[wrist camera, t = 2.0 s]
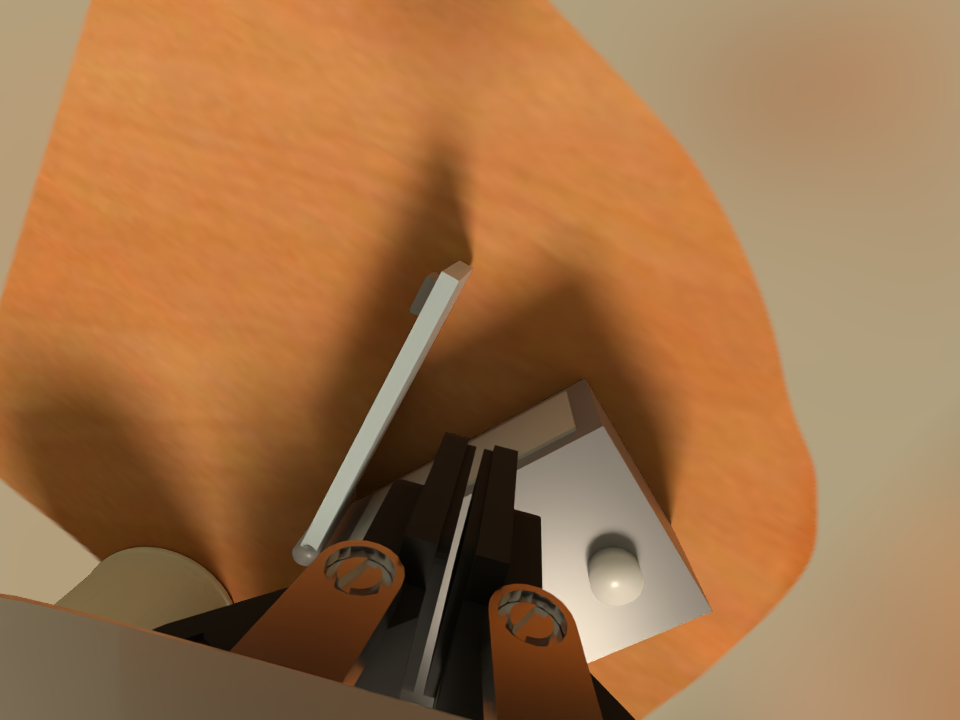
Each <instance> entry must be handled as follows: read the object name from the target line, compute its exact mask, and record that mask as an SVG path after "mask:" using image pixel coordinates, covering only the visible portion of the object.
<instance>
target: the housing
mask: <svg viewBox="0 0 960 720" xmlns="http://www.w3.org/2000/svg"><path fill="white" fill-rule="evenodd" d="M468 444H469V445H473V446H476V451H475V455H474V459H473V463H472V467H471V471H470V475H469V479H468V483H467V487H466V491H465V495H464V499H463V503H462V507H461V511H460V515H459V519H458V523H457V526H456V530H455V534H454V538H453V542H452V546H451V550H450V554H449V558H448V562H447V566H446V569H445V573H444V577H443V581H442V585H441V589H440V592H439V596H438V600H437V604H436V608H435V612H434V616H433V619H432V623H431V627H430V631H429V635H428V639H427V642H426V646H425V650H424V654H423V658H422V662H421V665H420V669H419V673H418V677H417V681H416V685H415V689H414V692H411V691H407V690H404V689H402V690H401V694H400V698H399V699H401V700H404V701H408V702H411V703H415V704H418V705H422V706H425V707H429V708H433V703H434V698H432V697H428V696H425V695H423V694H424V689H425V685H426V680H427V676H428V672H429V668H430V663H431V659H432V655H433V651H434V646H435V642H436V638H437V633H438V629H439V625H440V621H441V616H442V612H443V608H444V603H445V599H446V595H447V591H448V586H449V582H450V578H451V574H452V569H453V565H454V561H455V557H456V553H457V549H458V545H459V541H460V538H461V534H462V530H463V526H464V523H465V519H466V515H467V511H468V507H469V504H470V500H471V496H472V492H473V489H474V485H475V481H476V477H477V473H478V470H479V466H480V462H481V458H482V455H483V451H484V449H488V450H491V451H493V449H494V446H495V445H497V446H501V447H505V448H509V449H513V450H516V451H518V461H517V475H516V489H515V503H514V509H515V510H519V511H523V512H527V513H530V514H534V515H538V516H540V517H541V537H542V589H543V590H545V591H547V592H549V593H551V594H553V595H554V596H555V597H556V598H558V599H559V600H560V601H561V602H563V603H564V605H565V606H566V607H567V608H568V609H569V611H570V612H571V614H572V616H573V618H574V620H575V622H576V625H577V629H578V632H579V636H580V639H581V643H582V646H583V650H584V654H585V657H586V661H587V663H589V662H592V661H594V660H597V659H599V658H601V657H604V656H606V655H609V654H611V653H614V652H616V651H618V650H621V649H623V648H626V647H628V646H630V645H633V644H635V643H638V642H640V641H643V640H645V639H647V638H650V637H652V636H655V635H657V634H659V633H662V632H664V631H667V630H669V629H672V628H674V627H676V626H679V625H681V624H684V623H686V622H688V621H691V620H693V619H696V618H698V617H700V616H703V615H705V614H708V613H710V612H713V611H712V609H711V607H710V605H709V603H708V601H707V599H706V597H705V595H704V592H703V590H702V588H701V586H700V584H699V582H698V580H697V578H696V576H695V574H694V572H693V570H692V568H691V566H690V563H689V561H688V559H687V557H686V555H685V553H684V551H683V549H682V547H681V545H680V543H679V541H678V539H677V536H676V534H675V532H674V530H673V528H672V526H671V524H670V523H669V521H668V519H667V517H666V516H665V514H664V512H663V511H662V509H661V507H660V506H659V504H658V502H657V500H656V499H655V497H654V495H653V494H652V492H651V490H650V488H649V487H648V485H647V483H646V482H645V480H644V478H643V476H642V475H641V473H640V471H639V470H638V468H637V466H636V464H635V463H634V461H633V459H632V458H631V456H630V454H629V453H628V451H627V449H626V447H625V446H624V444H623V442H622V441H621V439H620V437H619V435H618V434H617V432H616V430H615V429H614V427H613V425H612V423H611V422H610V420H609V418H608V417H607V415H606V413H605V411H604V410H603V408H602V406H601V405H600V403H599V401H598V400H597V398H596V396H595V394H594V393H593V391H592V389H591V388H590V386H589V384H588V382H587V381H586V379H585V378H584V379H582V380H581V381H579V382H577V383H575V384H573V385H571V386H569V387H568V388H566V389H564V390H562V391H560V392H558V393H556V394H555V395H553V396H551V397H549V398H547V399H545V400H543V401H542V402H540V403H538V404H536V405H534V406H532V407H530V408H529V409H527V410H525V411H523V412H521V413H519V414H517V415H516V416H514V417H512V418H510V419H508V420H506V421H504V422H503V423H501V424H499V425H497V426H495V427H493V428H491V429H490V430H488V431H486V432H484V433H482V434H480V435H478V436H477V437H475V438H473V439H471V440H469V441H468ZM434 460H435V459H434ZM434 460H432V461H430V462H428V463H426V464H425V465H423V466H421V467H419V468H417V469H415V470H413V471H412V472H410V473H408V474H406V475H404V476H402V477H400V479H404V480H407V481H411V482H415V483H418V484H422V485H424V484H425V482H426V480H427V477H428V475H429V472H430V470H431V467H432V465H433V463H434ZM393 482H394V481H393ZM393 482H391V483H389V484H387V485H386V486H384V487H382V488H380V489H378V490H376V491H374V492H373V493H371V494H369V495H367V496H365V497H363V498H362V499H360V500H358V501H356V502H354V503H352V504H351V505H350V507H349V509H348V510H347V512H346V513H345V515H344V517H343V518H342V520H341V522H340V523H339V525H338V527H337V528H336V530H335V531H334V533H333V535H332V536H331V538H330V540H329V541H328V543H327V544H326V546H325V548H324V549H323V551H324V550H325V549H327V548H328V547H329V546H332V545H334V544H337V543H339V542H343V541H350V540H363V538H364V536H365V534H366V532H367V531H368V529H369V527H370V525H371V523H372V521H373V519H374V517H375V516H376V514H377V512H378V510H379V508H380V506H381V504H382V502H383V501H384V499H385V497H386V495H387V493H388V491H389V489H390V487H391V485H392V484H393ZM323 551H322V552H323Z"/></svg>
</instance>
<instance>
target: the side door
mask: <svg viewBox="0 0 960 720" xmlns="http://www.w3.org/2000/svg"><path fill="white" fill-rule="evenodd" d="M472 270H473V268H472V267H471V266H469V265H467V264H465V263H463V262H462V261H458V262H456V263H455V264H453V265H451V266H450V267H448V268H446V269H445V270H443V271H442V272H441V274H438V273H436V272H435V271H434V272H432V273H430V274H429V275H427V276H426V278H425V280H424V282H423V284H422V286H421V288H420V290H419V291H418V293H417V295H416V297H415V299H414V301H413V303H412V305H411V307H410V309H409V312H410V313H412V314H414V315H416V316H418V318H417V320H416V322H415V324H414V326H413V328H412V330H411V332H410V334H409V336H408V338H407V340H406V341H405V343H404V345H403V347H402V349H401V351H400V353H399V355H398V357H397V359H396V361H395V363H394V365H393V367H392V369H391V371H390V372H389V374H388V376H387V378H386V380H385V382H384V384H383V386H382V388H381V390H380V392H379V394H378V396H377V398H376V400H375V402H374V403H373V405H372V407H371V409H370V411H369V413H368V415H367V417H366V419H365V421H364V423H363V425H362V427H361V429H360V431H359V433H358V434H357V436H356V438H355V440H354V442H353V444H352V446H351V448H350V450H349V452H348V454H347V456H346V458H345V460H344V462H343V464H342V465H341V467H340V469H339V471H338V473H337V475H336V477H335V479H334V481H333V483H332V485H331V487H330V489H329V491H328V493H327V495H326V496H325V498H324V500H323V502H322V504H321V506H320V508H319V510H318V512H317V514H316V516H315V518H314V520H313V521H312V523H311V524H310V525H309V527H308V528H307V530H306V531H305V533H304V534H303V535H302V537H301V538H300V540H299V541H298V542H297V544H296V545H295V547H294V548H293V550H292V556H293V559H294V560H295V561H296V562H297V563H298V564H300V565H302V566H309V565H310V564H311V563H312V562H313V561H314V560H315V559H316V558H317V556H318V555H319V554H320V553H321V552H322V551H323V549H324V548H325V546H326V544H327V543H328V541H329V540H330V538H331V536H332V535H333V533H334V531H335V530H336V528H337V527H338V525H339V523H340V522H341V520H342V518H343V517H344V515H345V513H346V512H347V510H348V509H349V507H350V505H351V504H352V502H353V500H354V499H355V497H356V494H357V492H356V487H357V485H358V483H359V481H360V480H361V478H362V476H363V474H364V472H365V470H366V468H367V466H368V465H369V463H370V461H371V459H372V457H373V455H374V453H375V451H376V450H377V448H378V446H379V444H380V442H381V440H382V438H383V436H384V435H385V433H386V431H387V429H388V427H389V425H390V423H391V421H392V420H393V418H394V416H395V414H396V412H397V410H398V408H399V406H400V405H401V403H402V401H403V399H404V397H405V395H406V393H407V391H408V390H409V388H410V386H411V384H412V382H413V380H414V378H415V376H416V375H417V373H418V371H419V369H420V367H421V365H422V363H423V361H424V360H425V358H426V356H427V354H428V352H429V350H430V348H431V346H432V345H433V343H434V341H435V339H436V337H437V335H438V333H439V331H440V330H441V328H442V326H443V324H444V322H445V320H446V318H447V316H448V315H449V313H450V311H451V309H452V307H453V305H454V303H455V301H456V300H457V298H458V296H459V294H460V292H461V290H462V288H463V286H464V285H465V283H466V281H467V279H468V277H469V275H470V273H471V271H472Z"/></svg>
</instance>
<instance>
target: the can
mask: <svg viewBox="0 0 960 720" xmlns="http://www.w3.org/2000/svg"><path fill="white" fill-rule="evenodd" d="M231 604H233V603H232V601H231V599H230V597H229V595H228V593H227V592H226V590H225V589H224V587H223V586H222V584H221V583H220V582H219V581H218V580H217V579H216V578H215V577H214V576H213V575H212V574H211V573H210V572H209V571H208V570H207V569H205V568H204V567H203V566H201V565H200V564H199V563H197V562H195V561H194V560H192V559H190V558H188V557H186V556H184V555H182V554H179V553H177V552H174V551H170V550H167V549H162V548H156V547H134V548H129V549H125V550H122V551H119V552H117V553H114V554H112V555H111V556H109V557H107V558H106V559H104V560H103V561H102V562H101V563H100V564H99V565H98V566H97V567H96V568H95V569H94V570H93V571H92V573H91V574H90V575H89V576H88V577H86V578H85V579H84V580H83V581H82V582H81V583H79V584H78V585H77V586H76V587H75V588H73V590H71V591H70V592H69V593H67V594H66V595H65V596H64V597H63V598H62V599H60V600H59V601H58V602H57V603H56V604H54V605H56V606H60V607H64V608H69V609H73V610H77V611H81V612H85V613H89V614H94V615H98V616H102V617H105V618H109V619H113V620H116V621H120V622H123V623H127V624H131V625H134V626H138V627H142V628H145V629H149V630H152V629H155V628H157V627H160V626H162V625H165V624H167V623H171V622H174V621H177V620H181V619H184V618H188V617H191V616H194V615H198V614H201V613H204V612H208V611H211V610H214V609H218V608H221V607H224V606H228V605H231Z"/></svg>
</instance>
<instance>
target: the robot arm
mask: <svg viewBox="0 0 960 720" xmlns="http://www.w3.org/2000/svg"><path fill="white" fill-rule="evenodd" d="M468 441H469V438H467V437H463V436H460V435H456V434H452V433H448V432H446V433H445V436H444V438H443V441H442V443H441V446H440V448H439V450H438V453H437V455H436V458H435V460H434V463H433V465H432V467H431V470H430V472H429V475H428V477H427V480H426V482H425V484H424V485H422V484H418V483H415V482H411V481H407V480H404V479H400V478H396V479H395V480H394V482H393V484H392V485H391V487H390V489H389V491H388V493H387V495H386V497H385V499H384V501H383V502H382V504H381V506H380V508H379V510H378V512H377V514H376V516H375V517H374V519H373V521H372V523H371V525H370V527H369V529H368V531H367V532H366V534H365V536H364V538H363V540H350V541H343V542H339V543H337V544H334V545H332V546H329V547H328V548H327V549H325V550H324V551H323V552H321V553H320V554H319V555H318V556H317V558H316V559H315V560H314V561H313V562H312V563H311V564H310V565H309V566H308V567H307V568H306V569H305V570H304V572H303V573H302V574H301V575H300V576H299V577H298V578H297V579H296V580H295V581H294V582H293V583H292V585H291V586H290V587H288V588H285V589H282V590H278V591H275V592H271V593H268V594H265V595H261V596H258V597H255V598H251V599H248V600H245V601H241V602H238V603H235V604H231V605H228V606H224V607H221V608H218V609H214V610H211V611H208V612H204V613H201V614H198V615H194V616H191V617H188V618H184V619H181V620H177V621H174V622H171V623H167V624H165V625H162V626H160V627H157V628H155V629H152V630H149V629H145V628H142V627H138V626H134V625H131V624H127V623H123V622H120V621H116V620H113V619H109V618H105V617H102V616H98V615H94V614H89V613H85V612H81V611H77V610H73V609H69V608H64V607H60V606H56V605H52V604H48V603H43V602H39V601H35V600H31V599H27V598H22V597H18V596H13V595H6V594H0V720H635V719H634V718H633V717H632V716H631V715H630V714H629V713H628V711H627V710H626V709H625V708H624V707H623V706H622V705H621V704H620V703H619V702H618V701H617V700H616V699H615V698H614V697H613V696H612V695H611V694H610V693H609V692H608V691H607V690H606V689H605V688H604V687H603V686H602V685H601V684H600V683H599V681H598V680H597V679H596V678H595V677H594V676H593V675H592V674H591V673H590V671H589V668H588V664H587V661H586V657H585V654H584V650H583V646H582V643H581V639H580V636H579V632H578V629H577V625H576V622H575V620H574V618H573V616H572V614H571V612H570V611H569V609H568V608H567V607H566V606H565V605H564V603H563V602H561V601H560V600H559V599H558V598H556V597H555V596H554V595H553V594H551V593H549V592H547V591H545V590H543V589H542V537H541V517H540V516H538V515H534V514H530V513H527V512H523V511H519V510H515V509H514V503H515V489H516V475H517V461H518V451H516V450H513V449H509V448H505V447H501V446H497V445H495V446H494V449H493V451H491V450H488V449H484V451H483V455H482V458H481V462H480V466H479V470H478V473H477V477H476V481H475V485H474V489H473V492H472V496H471V500H470V504H469V507H468V511H467V515H466V519H465V523H464V526H463V530H462V534H461V538H460V541H459V545H458V549H457V553H456V557H455V561H454V565H453V569H452V574H451V578H450V582H449V586H448V591H447V595H446V599H445V603H444V608H443V612H442V616H441V621H440V625H439V629H438V633H437V638H436V642H435V646H434V651H433V655H432V659H431V663H430V668H429V672H428V676H427V680H426V685H425V689H424V694H423V695H425V696H428V697H432V698H434V703H433V708H429V707H425V706H422V705H418V704H415V703H411V702H408V701H404V700H401V699H399V698H400V694H401V690H402V689H404V690H407V691H411V692H414V689H415V685H416V681H417V677H418V673H419V669H420V665H421V662H422V658H423V654H424V650H425V646H426V642H427V639H428V635H429V631H430V627H431V623H432V619H433V616H434V612H435V608H436V604H437V600H438V596H439V592H440V589H441V585H442V581H443V577H444V573H445V569H446V566H447V562H448V558H449V554H450V550H451V546H452V542H453V538H454V534H455V530H456V526H457V523H458V519H459V515H460V511H461V507H462V503H463V499H464V495H465V491H466V487H467V483H468V479H469V475H470V471H471V467H472V463H473V459H474V455H475V451H476V446H473V445H469V444H468Z"/></svg>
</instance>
